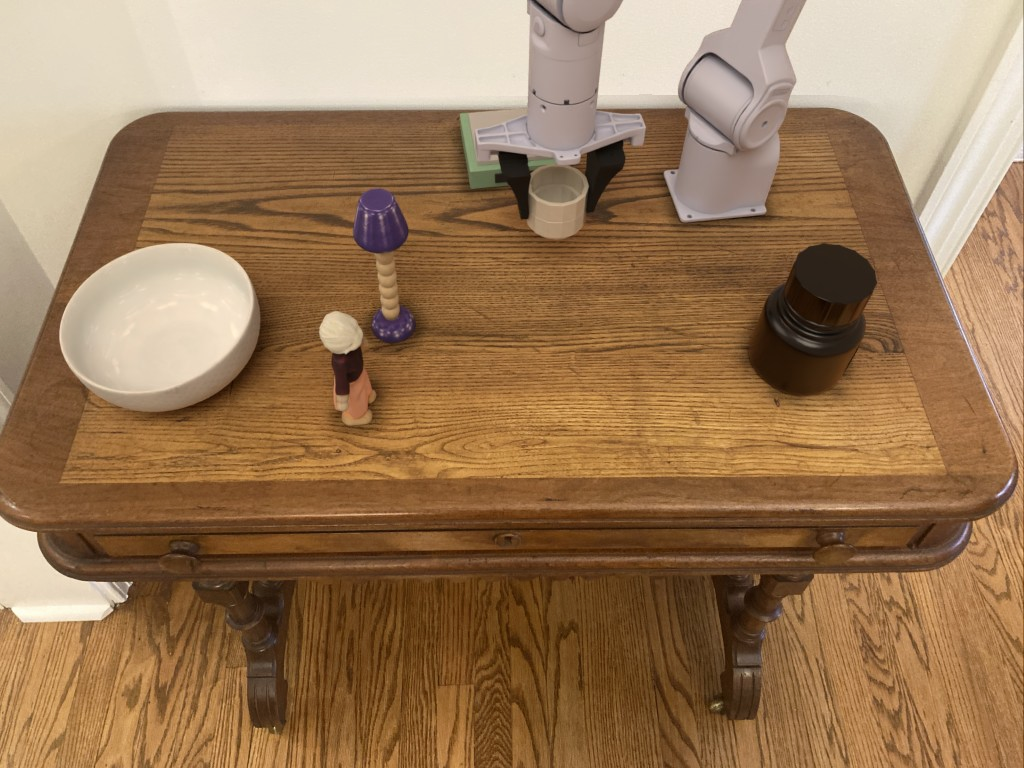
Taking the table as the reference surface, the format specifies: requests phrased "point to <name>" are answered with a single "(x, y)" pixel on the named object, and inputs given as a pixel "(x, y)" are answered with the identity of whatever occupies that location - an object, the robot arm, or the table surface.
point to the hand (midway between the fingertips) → (555, 208)
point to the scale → (490, 171)
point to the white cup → (557, 201)
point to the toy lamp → (384, 259)
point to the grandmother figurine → (348, 367)
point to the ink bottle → (813, 320)
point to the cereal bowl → (161, 327)
